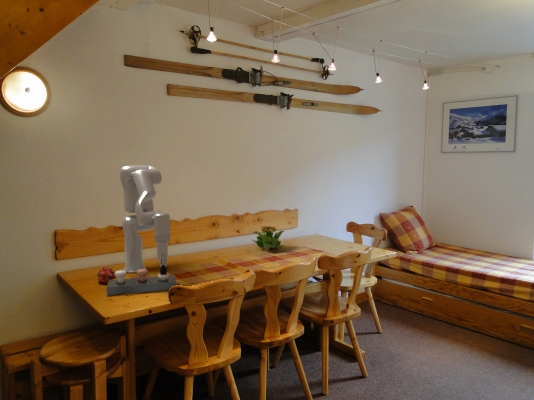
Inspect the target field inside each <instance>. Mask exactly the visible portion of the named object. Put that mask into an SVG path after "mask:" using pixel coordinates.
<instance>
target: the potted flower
mask: <svg viewBox="0 0 534 400" xmlns="http://www.w3.org/2000/svg"><path fill="white" fill-rule="evenodd" d="M260 228H261V232H258V231H257V230H255V231H252V233H253V234H256V235H257V236H256V239H257V240H254V239H252V242H253V243H255V244H256V245H257V247H259V248H261V249H263V251H264V252H270V253H272V252H276V251H278V249H280V248H281V249H282V248H285V247H287V245H286V244H285V245H284V244H283V245H282V244H281V243H282V241H280V239H279V238H280V237H281V236H282V234H283V233H284V232H285V230H279V231H278V232H276V231H277V230H278V229H277V227H275V226H271V225H269V226H267V225H263V226H261V227H260ZM274 232H275V233H274Z"/></svg>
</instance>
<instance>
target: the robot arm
mask: <svg viewBox="0 0 534 400" xmlns="http://www.w3.org/2000/svg"><path fill="white" fill-rule="evenodd" d="M162 178H163V177H162V174H161V172H160V170H159V169H157V168H156V167H154V166H152V165H147V164H146V165H145V164H142V165H137V164H136V165H125V166H122V167H121V168H120V169H119V180H120V183H121V186H122V190H123V191H122V192H123V205H124V206H123V207H124V210H125V212H126V213H129V214H132V215H127V216H125V217H124V218H122V223H121V224H122V229H123V236H124V255H125V256H124V257H125V260H124V262H125V266H124V267H123V268H122V270H125V271H126V274H127V273H128V274H129V273H130V274H132V273H134V274H135V273H136V274H137V270H138V269H147V268H146V266H145V265H144V254H143V251H144V250H143V238H142V237H141V235H140V234H139V233H138V232H146V231H147V232H148V231H151V230H153V229H154V230H153V231H154V232H153V233H154V242H155V243H156V260H157V263H160V264H159V265H160V266H159V274H160V275H166V274H167V273H168V271H167V270H168V269H167V268H168V267H167V262H168V258H169V242H171V217H170V214H169V213H167V212H165V211H163V210H154V209H155V208H154V201H153V199H154V198H155V196H157V195H156V194H157V191H156V190H155V186H154V185H159V184H161V183H162ZM133 213H134V214H133Z"/></svg>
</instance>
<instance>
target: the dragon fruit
mask: <svg viewBox="0 0 534 400" xmlns="http://www.w3.org/2000/svg"><path fill="white" fill-rule="evenodd" d="M96 275H97V276H96V277H97V280H98V282H100V283H102V284H105V285H106V284H107V285H108V281H109V280H116V279H117V277H115V271H114V270H113V268H111V267H108V266H104V267H101V268H100V269H99V271H98V272H97V274H96Z"/></svg>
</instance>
